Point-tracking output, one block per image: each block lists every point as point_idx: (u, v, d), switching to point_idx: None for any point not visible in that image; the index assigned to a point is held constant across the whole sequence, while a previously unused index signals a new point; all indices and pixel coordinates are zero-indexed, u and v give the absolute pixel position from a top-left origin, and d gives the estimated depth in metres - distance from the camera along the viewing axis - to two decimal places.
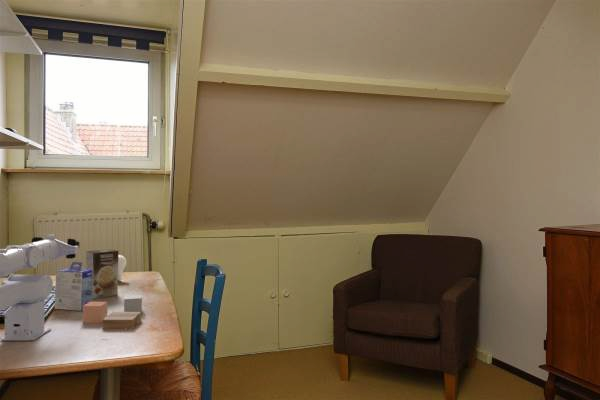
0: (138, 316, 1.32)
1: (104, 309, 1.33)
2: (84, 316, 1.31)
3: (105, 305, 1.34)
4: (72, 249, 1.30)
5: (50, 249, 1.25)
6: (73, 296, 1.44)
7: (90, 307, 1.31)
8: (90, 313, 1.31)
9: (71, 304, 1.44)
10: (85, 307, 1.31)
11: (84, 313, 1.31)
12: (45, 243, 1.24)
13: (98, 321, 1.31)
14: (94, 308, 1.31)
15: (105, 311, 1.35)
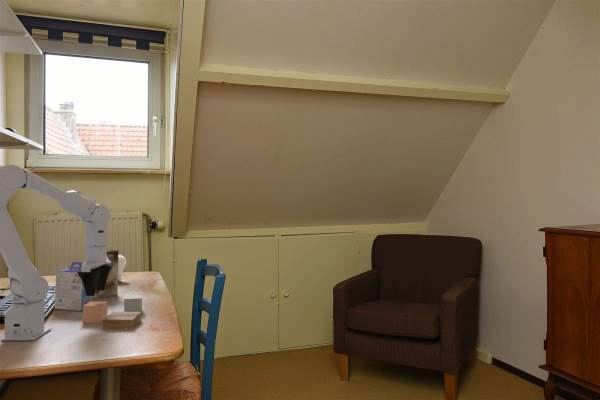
0: (138, 316, 1.32)
1: (104, 309, 1.33)
2: (84, 316, 1.31)
3: (105, 305, 1.34)
4: (87, 265, 1.27)
5: (103, 244, 1.32)
6: (73, 296, 1.44)
7: (90, 307, 1.31)
8: (90, 313, 1.31)
9: (71, 304, 1.44)
10: (85, 307, 1.31)
11: (84, 313, 1.31)
12: (106, 242, 1.34)
13: (98, 321, 1.31)
14: (94, 308, 1.31)
15: (105, 311, 1.35)
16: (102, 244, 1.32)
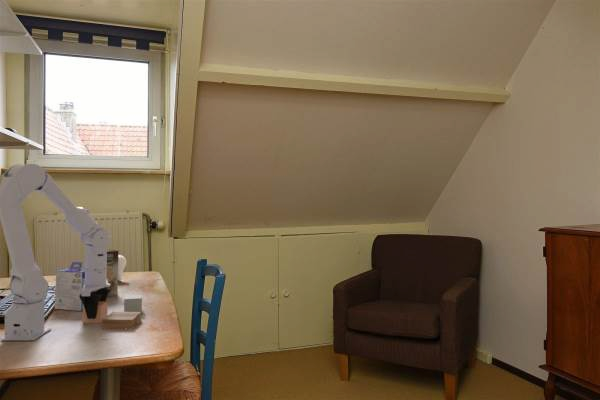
0: (138, 316, 1.32)
1: (104, 308, 1.33)
2: (84, 316, 1.31)
3: (105, 305, 1.34)
4: None
5: (102, 268, 1.32)
6: (73, 296, 1.44)
7: None
8: None
9: (71, 304, 1.44)
10: None
11: (84, 313, 1.31)
12: (106, 265, 1.34)
13: (98, 321, 1.31)
14: None
15: (105, 311, 1.35)
16: (102, 267, 1.32)
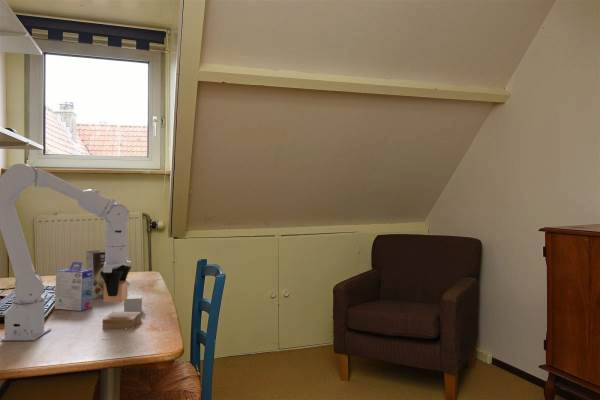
0: (138, 316, 1.32)
1: (124, 287, 1.31)
2: (105, 294, 1.28)
3: (125, 284, 1.32)
4: None
5: (120, 245, 1.28)
6: (73, 296, 1.44)
7: None
8: None
9: (71, 304, 1.44)
10: None
11: (105, 291, 1.28)
12: (126, 242, 1.30)
13: (119, 300, 1.28)
14: None
15: (125, 290, 1.32)
16: (119, 244, 1.28)
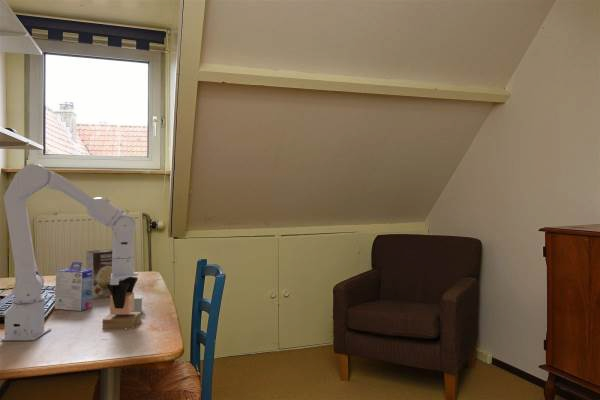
0: (138, 316, 1.32)
1: (131, 299, 1.30)
2: (111, 307, 1.27)
3: (132, 296, 1.31)
4: (115, 277, 1.23)
5: (126, 256, 1.27)
6: (73, 296, 1.44)
7: None
8: None
9: (71, 304, 1.44)
10: None
11: (111, 304, 1.27)
12: (132, 254, 1.29)
13: (126, 312, 1.27)
14: None
15: (132, 302, 1.31)
16: (126, 256, 1.27)
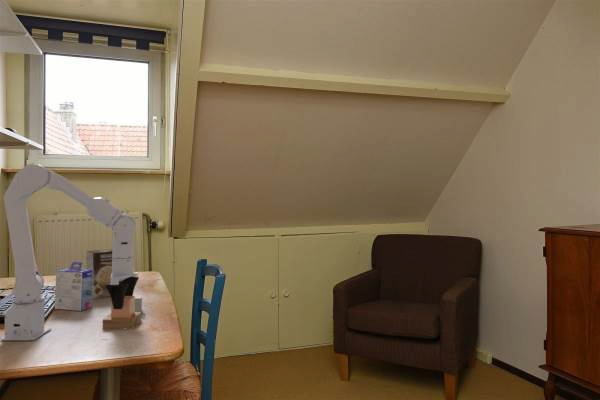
0: (138, 316, 1.32)
1: (132, 303, 1.30)
2: (112, 310, 1.27)
3: (133, 299, 1.31)
4: (115, 277, 1.23)
5: (126, 256, 1.27)
6: (73, 296, 1.44)
7: None
8: None
9: (71, 304, 1.44)
10: None
11: (112, 307, 1.27)
12: (132, 254, 1.29)
13: (127, 315, 1.28)
14: None
15: (133, 305, 1.31)
16: (126, 256, 1.27)
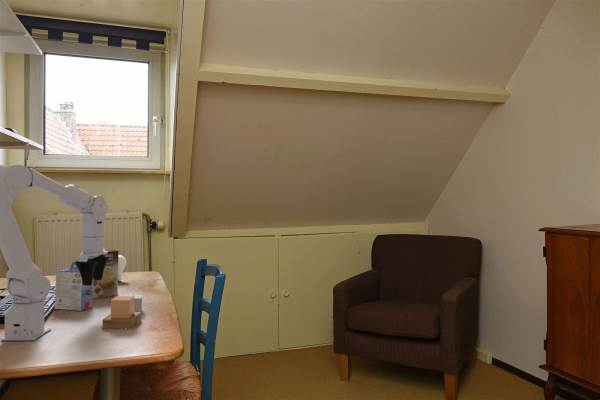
0: (138, 316, 1.32)
1: (131, 303, 1.30)
2: (112, 311, 1.27)
3: (133, 299, 1.31)
4: (84, 255, 1.30)
5: (101, 235, 1.35)
6: (73, 296, 1.44)
7: (118, 301, 1.27)
8: (118, 308, 1.27)
9: (71, 304, 1.44)
10: (113, 301, 1.27)
11: (112, 307, 1.27)
12: (103, 233, 1.37)
13: (126, 316, 1.27)
14: (122, 302, 1.27)
15: (132, 306, 1.31)
16: (100, 235, 1.35)
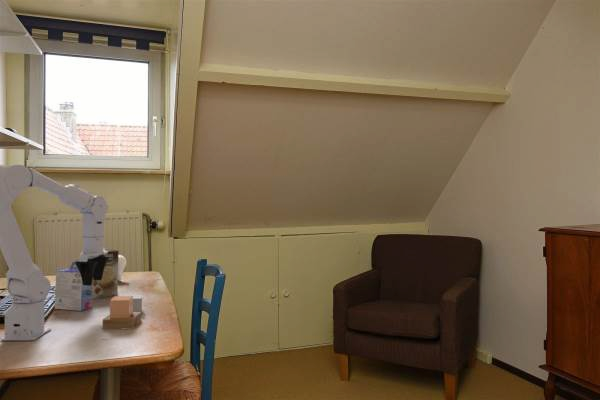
0: (138, 316, 1.32)
1: (130, 303, 1.30)
2: (111, 311, 1.27)
3: (131, 299, 1.31)
4: (84, 255, 1.30)
5: (101, 235, 1.35)
6: (73, 296, 1.44)
7: (117, 301, 1.27)
8: (117, 308, 1.27)
9: (71, 304, 1.44)
10: (112, 301, 1.27)
11: (111, 308, 1.27)
12: (103, 233, 1.37)
13: (126, 316, 1.27)
14: (122, 302, 1.27)
15: (131, 305, 1.31)
16: (100, 235, 1.35)
